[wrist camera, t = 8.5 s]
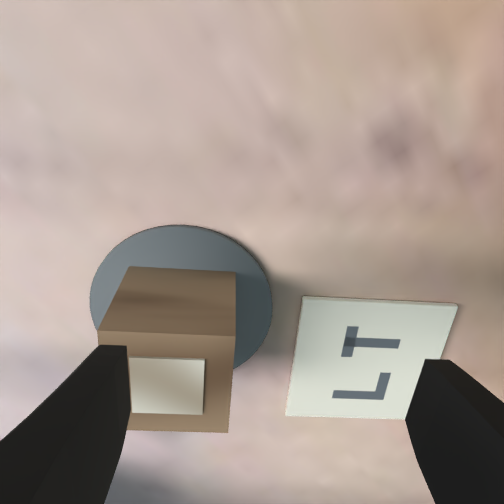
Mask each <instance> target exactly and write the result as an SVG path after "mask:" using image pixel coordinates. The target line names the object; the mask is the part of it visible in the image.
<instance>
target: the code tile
mask: <svg viewBox="0 0 504 504" xmlns="http://www.w3.org/2000/svg"><path fill="white" fill-rule="evenodd" d="M457 308H458V306H457V305H456V304H455V303H435V302H415V301H394V300H374V299H353V298H332V297H312V296H303V298H302V304H301V311H300V317H299V324H298V330H297V337H296V343H295V350H294V356H293V363H292V369H291V376H290V382H289V389H288V395H287V402H286V408H285V416H308V417H342V418H376V419H405V417H406V414H407V411H408V408H409V406H410V403H411V400H412V397H413V394H414V391H415V388H416V385H417V382H418V379H419V376H420V373H421V370H422V367H423V364H424V361H425V359H440V357H441V354H442V351H443V349H444V346H445V343H446V340H447V337H448V334H449V331H450V328H451V326H452V323H453V320H454V317H455V314H456V311H457Z"/></svg>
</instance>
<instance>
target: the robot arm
mask: <svg viewBox="0 0 504 504" xmlns="http://www.w3.org/2000/svg"><path fill="white" fill-rule="evenodd" d="M130 412H131V401H130V387H129V372H128V357H127V346H124V345H101V344H100V345H99V346H98V347H97V348H96V349H95V350H94V351H93V352H92V353H91V354H90V355H89V356H88V357H87V358H86V359H85V360H84V361H83V362H82V363H81V364H80V365H79V366H78V367H77V368H76V369H75V370H74V372H73V373H72V374H71V375H70V376H69V377H68V378H67V379H66V380H65V381H64V382H63V383H62V384H61V385H60V386H59V387H58V388H57V389H56V390H55V391H54V392H53V393H52V394H51V395H50V396H49V397H48V398H46V399H45V400H44V401H43V402H42V403H41V404H40V405H39V406H38V407H37V408H36V409H35V410H34V411H33V412H32V413H31V414H30V415H29V416H28V417H27V418H26V419H25V420H23V421H22V422H21V423H20V424H19V425H18V426H17V427H16V428H14V429H13V430H12V431H11V432H10V433H9V434H8V435H7V436H5V437H4V438H3V439H2V440H1V441H0V504H104V502H105V499H106V496H107V494H108V491H109V488H110V485H111V482H112V479H113V476H114V473H115V470H116V467H117V464H118V461H119V458H120V455H121V452H122V448H123V444H124V439H125V435H126V431H127V426H128V421H129V417H130ZM405 421H406V425H407V428H408V432H409V435H410V439H411V443H412V446H413V449H414V452H415V455H416V459H417V461H418V464H419V466H420V469H421V471H422V474H423V476H424V478H425V481H426V483H427V485H428V488H429V490H430V492H431V495H432V497H433V499H434V501H435V504H504V403H503V402H502V401H501V400H500V399H498V398H497V397H496V396H495V395H493V394H492V393H491V392H490V391H488V390H487V389H486V388H485V387H484V386H482V385H481V384H480V383H479V382H477V381H476V380H475V379H474V378H472V377H471V376H470V375H469V374H467V373H466V372H465V371H464V370H462V369H461V368H460V367H458V366H457V365H456V364H454V363H453V362H452V361H450V360H442V359H425V361H424V364H423V367H422V370H421V373H420V376H419V379H418V382H417V385H416V388H415V391H414V394H413V397H412V400H411V403H410V406H409V408H408V411H407V414H406V417H405Z"/></svg>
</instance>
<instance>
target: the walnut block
mask: <svg viewBox="0 0 504 504" xmlns="http://www.w3.org/2000/svg"><path fill="white" fill-rule="evenodd" d="M97 334H98V345H100V344H101V345H124V346H127V357H128V372H129V387H130V401H131V412H130V417H129V421H128V426H127V430H143V431H180V432H216V433H228V427H229V414H230V402H231V389H232V376H233V363H234V350H235V337H236V272H230V271H212V270H193V269H175V268H156V267H137V266H129V267H128V269H127V271H126V273H125V275H124V277H123V279H122V281H121V283H120V285H119V287H118V289H117V291H116V293H115V295H114V297H113V299H112V301H111V304H110V306H109V308H108V310H107V312H106V314H105V316H104V318H103V320H102V322H101V324H100V326H99V328H98V330H97Z"/></svg>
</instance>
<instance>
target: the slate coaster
mask: <svg viewBox="0 0 504 504" xmlns="http://www.w3.org/2000/svg"><path fill="white" fill-rule="evenodd" d="M129 266H137V267H156V268H175V269H193V270H212V271H230V272H236V337H235V350H234V363H233V369H234V368H236V367H238V366H239V365H241V364H242V363H244V362H245V361H246V360H247V359H249V358H250V357H251V356H252V355H253V354H254V353H255V352H256V351H257V349H258V348H259V347H260V345H261V344H262V342H263V340H264V339H265V337H266V335H267V332H268V330H269V327H270V323H271V318H272V298H271V291H270V288H269V284H268V281H267V279H266V276H265V274H264V272H263V270H262V269H261V267H260V266H259V264H258V263H257V261H256V260H255V259H254V258H253V257H252V255H251V254H250V253H248V252H247V251H246V250H245V249H244V248H243V247H242V246H240V245H239V244H238V243H236V242H235V241H233V240H232V239H230V238H228V237H226V236H224V235H222V234H220V233H217V232H215V231H212V230H209V229H205V228H201V227H197V226H189V225H166V226H158V227H154V228H150V229H146V230H144V231H141V232H139V233H136V234H134V235H132V236H130V237H129V238H127V239H125V240H124V241H122V242H121V243H120V244H118V245H117V246H116V247H115V248H114V249H113V250H112V251H111V252H110V253H109V254H108V255H107V256H106V258H105V259H104V260H103V262H102V263H101V265H100V266H99V268H98V270H97V272H96V274H95V276H94V279H93V282H92V285H91V291H90V311H91V316H92V320H93V322H94V325H95V328H96V330H98V328H99V326H100V324H101V322H102V320H103V318H104V316H105V314H106V312H107V310H108V308H109V306H110V304H111V301H112V299H113V297H114V295H115V293H116V291H117V289H118V287H119V285H120V283H121V281H122V279H123V277H124V275H125V273H126V271H127V269H128V267H129Z"/></svg>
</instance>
